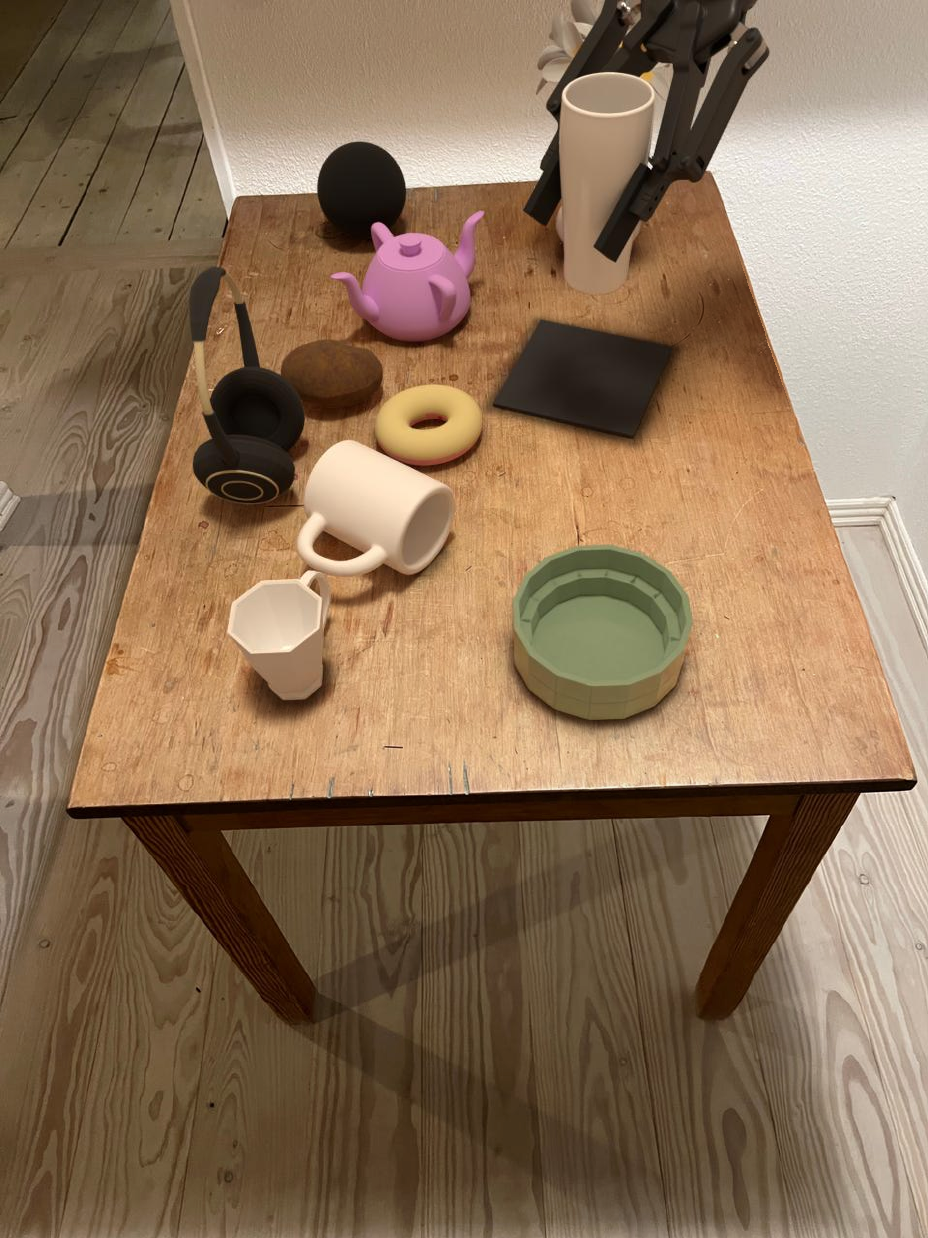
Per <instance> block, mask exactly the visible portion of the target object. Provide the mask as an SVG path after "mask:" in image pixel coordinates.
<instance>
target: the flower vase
mask: <svg viewBox="0 0 928 1238" xmlns="http://www.w3.org/2000/svg"><path fill="white" fill-rule="evenodd" d="M604 2H605V0H598V2H597V3H596V7H594V4H593V2H592V0H571V1H570V12H571V15H572V18H573V19H574V21H575V22H573V20H571V19H567V20H565V14H564V11H562V12H561V16H560V13H559V10H558V8H557V7H556V8H555V9H554V10H553V15H552V20H551V32H549V34H548V38H549V39H550V40H552V41H553V43H555V45H553V44H552V45H548V46H547V47H545V48H544V49H543V50H542V52H541V53H540V55H539V57H538V60H537V64H536V66H537V67H536V68H537V70H539V71H541V78H540V81H539V83H538V85H537V88H536V92H535V95H536V96H537V95H539V93H540V92H541V91H542V90H543V88H544V87H545V86H546V85H547V83H552V84H558V83H559V81H560V79H561V78H562V76H563V74H564V73H565V71H566V70H567V68H568V66H569V65H570V63H571V61H572V60H573V58H574V56H575V55H576V53H577V52H578V50H579V48H580V47H581V45H582V43H583V42H584V40H585V39H586V37H587V35H588V34H589V32H590V30H591V29H592V27H593V25H594V24H595V22H596V21H597V19H598V17H599V16H600V14H601V11H602V8H603V5H604ZM635 19H636V23H637V22H638V21H639V20H640V19H641V12H640V13H638V15H637V16H636V18H635ZM636 23H635V24H636ZM635 24H634V25H633V26H630V25H629V28H628V31H627V33H626V35H627V34H628V32H629V31H630V30H631V29H632V28H633V27H634V26H635ZM626 35H625V36H626ZM621 47H622V42H621V44H620V46H619V47H618V49H617V51H616V52H615V54H616V53H617V52H618V50H619V49H620V48H621ZM641 49H642V50H643V52H645V51H646V49H645V47H644V46H643V43H642V45H641ZM615 54H614V55H615ZM614 55H613V56H614ZM663 67H664V68H667V69H668V68H670V67H671V64H670V63H660V62H659V63H658V64H657V65H656V66H655V67H654V68H653V69H652V70H651V71H650V72H648V73H643V74H642V75H641V76H640V77H639V78H641V79H643V80H645V81H646V82H648V83H649V84H650V85H651V86H652V87H653V89H654V91H655V93H656V94H657V95H658V96H659V97H660V98H661V99H662V100H663V101H667V97H668V93H669V89H670V87H669V84H668V81H667V79H666V77H665V76H664V74H663V73H662V72H661V71H659V70H657V69H660V68H663ZM555 217H556V218H555V232H556V234H557V236H558V237H559V239H560V241H561V242H562V244H564V240H563V219H562V204H560V207H559V209H558V211H557V214H556V216H555ZM641 228H642V221H641V220H640V221H639V222H638V224H637V226H636V228H635V233H634V238H633V242H635V240H637V237H638V236H639V234H640V231H641Z"/></svg>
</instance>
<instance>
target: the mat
mask: <svg viewBox="0 0 928 1238" xmlns="http://www.w3.org/2000/svg"><path fill="white" fill-rule="evenodd" d="M672 350H673V345H669V344H665V343H660V342H654V341H651V340H645V339H640V338H635V337H630V336H625V335H620V334H615V333H610V332H605V331H601V330H596V329H590V328H585V327H581V326H575V325H571V324H565V323H561V322H560V323H559V322H555V321H552V320H551V321H550V320H546V319H540V320H539V322H538V323H537V325H536V327H535V329H534V331H533V332H532V334H531V336H530V337H529V339H528V341H527V342H526V344H525V346H524V348H523V349H522V351H521V353H520V354H519V357H518V358H517V360H516V362H515V363H514V365H513V367H512V369H511V370H510V372H509V374H508V376H507V377H506V379H505V381H504V382H503V384H502V386H501V388H500V390H499V391H498V393H497V394H496V396H495V399H494V400H493V402H492V407H494V408H498V409H502V410H506V411H512V412H516V413H520V414H523V415H529V416H533V417H538V418H540V419H541V418H542V419H546V420H551V421H554V422H559V423H563V424H567V425H570V426H577V427H580V428H585V429H589V430H593V431H597V432H602V433H607V434H610V435H616V436H620V437H623V438H629V439H632V440H633V439H635V435H636V433H637V432H638V429H639V428H640V427H639V426H640V424H641V422H642V419H643V417H644V415H645V413H646V410H647V408H648V406H649V403H650V401H651V399H652V397H653V394H654V392H655V390H656V388H657V385H658V383H659V381H660V378H661V377H662V373H663V371H664V369H665V368H666V367H665V366H666V364H667V362H668V359H669V358H670V355H671V352H672Z"/></svg>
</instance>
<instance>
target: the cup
mask: <svg viewBox="0 0 928 1238" xmlns="http://www.w3.org/2000/svg"><path fill="white" fill-rule="evenodd" d="M315 579H316V581H317V584H318V586H319V593H320V594H318V593H316V592H315V591H314V590H312V589H311V585H312V583H313V581H314V580H315ZM331 592H332V591H331V586H330V583H329V580H328V579H327V577H326V574H325V573H322V572H320V571H317V570H307V571H305V572H304V573H303V574H302V576H300V578H290V579H269V580H267V579H266V580H260V581H258V582H257V583H256V584H255V585H253V586H252V587H250V588H249V589H248V590H247V591H246V592H244V593H242V594H241V595H240V596H238V597H237V598H236V599H234V600H233V601H231V607H230V613H229V619H228V625H227V631H226V633H227V634H228V636H229V637H230V639H231V640H232V642H233V643H234V644H235V645H236V647H237V648H238V650H239V651H240V652H241V653H242V655H243V657H244V658H245V659H246V661H247V662H248V663H249V665H250V666H251V667H252V669H253V670H255V672H256V673H257V674H258V675H260V677H261V678H262V679H263V680H264V681H266V682H267V685H268V688H269V689H270V690H271V691H272V692H273V693H274V694H275V695H277V696H278V697H279V698H280V699H281V700H282V701H295V700H306V699H308V698H309V697H310V696H311V695H312V694H313V693H315V692H316V691H317V690H319V688H321V687H322V686H323V675H324V665H323V654H324V646H325V645H324V644H325V635H324V630H325V627H326V624H327V621H328V619H327V618H328V616H329V612H330V606H331V600H332V595H331V594H332V593H331Z"/></svg>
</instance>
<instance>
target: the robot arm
mask: <svg viewBox="0 0 928 1238" xmlns="http://www.w3.org/2000/svg"><path fill="white" fill-rule="evenodd" d="M757 2H758V0H605V2H604V5H603V8H602V11H601V14H600V16H599V17H598V19H597V21H596V22H595V24H594V25H593V27H592V29H591V30H590V32H589V34H588V35H587V37H586V39H585V40H584V42H583V43H582V45H581V47H580V48H579V50H578V52H577V53H576V55H575V56H574V58H573V60H572V61H571V63H570V65H569V66H568V68H567V70H566V71H565V73H564V74H563V76H562V78H561V79H560V81H559V83H556V85H555V88H554V89H553V91H552V92H551V94H550V96H549V98H548V99H547V101H546V103H545V108H546V111H548V112H549V114H550V115H551V116H552V117H553V119H554V120H555V121H556V123H557V129H556V132H555V133H554V136H553V137H552V139H551V141H550V143H549V145H548V146H547V149H546V150H545V153H544V154H543V157H542V159H541V160H540V163H539V164H540V165H539V169H540V170H541V171H542V172H541V175H540V176H539V179H538V180H537V182H536V185H535V187H534V188H533V190H532V192H531V194H530V195H529V197H528V199H527V202H526V203H525V205H524V207H523V209H522V211H523V212H524V214H526V215H528V216H529V217H530V218H532V220H534V221H536V223H538V224H540V225H542V226H543V227H545V228H546V227H547V226H548V225H549V222H550V220H551V219H552V217H553V215H554V213H555V211H556V209H557V207H558V206H559V203H560V202H561V201H562V199H561V181H560V161H559V130H560V113H561V102H562V93H563V90H564V88H565V87H566V86H567V85H568V84H569V83H570V82H572V81H574V80H575V79H577V78H580V77H583V76H586V75H590V74H595V73H605V72H613V73H624V74H629V75H633V76H636V77H640V76H641V75H642V74H643V73H648V72H650V71H651V70H652V69H653V68H654V67H655V66H656V65H657V64H658V63H659V62H660V63H670V65H671V64H672V77H671V81H670V86H669V93H668V97H667V101H666V102H665V106H664V110H663V114H662V118H661V122H660V127H659V131H658V134H657V138H656V143H655V147H654V151H653V155H651V156H650V155H649V156H648V164H650V166H651V168H650V167H649V165H648V166H646V165H644V164H642V163H640V164H639V166H638V167H637V169H636V171H635V172H634V174H633V176H632V177H631V179H630V181H629V183H628V185H627V186H626V188H625V190H624V192H623V194H622V195H621V197H620V199H619V201H618V203H617V204H616V206H615V208H614V210H613V212H612V213H611V215H610V217H609V219H608V221H607V222H606V224H605V226H604V228H603V230H602V231H601V233H600V235H599V237H598V239H597V240H596V242H595V244H594V246H593V247H594V248H595V249H597V250H598V251H599V252H600V253H602V254H603V255H604V256H605V257H606V258H608V259H609V260H611V261H613V262H615V263H616V261H617V260H618V258H619V256H620V254H621V252H622V251H623V249H624V247H625V245H626V244H627V242H628V240H629V238H630V237H631V235H632V233H633V231H634V230H635V228H636V226H637V224H638V222H639V221H640V220H641V222H643V223H647V222H649V221H650V219H652V217H653V215H654V214H655V212H656V210H657V208H658V207H659V205H660V203H661V202H662V200H663V198H664V196H665V195H666V193H667V191H668V189H669V188H670V186H671V185H672V184H673V183H674V182H677V181H689V182H690V183H692V184H693V183H694V184H695V183H698V182H700V181H701V180H702V179H703V177H704V175H705V174H706V171H707V169H708V167H709V165H710V163H711V160H712V158H713V156H714V154H715V152H716V151H717V148H718V147H719V144H720V142H721V139H722V138H723V135H724V134H725V131H726V129H727V127H728V125H729V123H730V120H731V118H732V116H733V114H734V113H735V110H736V108H737V106H738V104H739V102H740V100H741V98H742V96H743V93H744V91H745V89H746V87H747V85H748V83H749V81H750V80H751V78H752V77H753V76H754V75H755V74H756V72H757V71H759V70H760V68H761V67H762V65H763V64H764V63H765V62H766V61H767V60H768V58H769V57H770V53H771V52H770V48H769V46H768V44H767V42H766V41H765V39H764V37H763V35H762V33H761V31H760V30H759V28H757V27H754V26H753V27H750V28H749V27H748V26H747V25H746V19H747V15H748V12H749V11H750V10H751V9H752V8H753V7H755V6H756V5H757ZM640 12H641V19H640V20H639V21H638V22H637V23H636V19H635V18H636V16H637V15H638V13H640ZM635 23H636V24H635ZM634 24H635V26H634V27H633V28H632V29H631V30H630V31H629V32H628V34H627V35H626V33H627V31H628V28H629V25H630V26H633V25H634ZM625 35H626V36H625ZM621 42H622V47H621V48H620V49H619V50H618V52H617V53H616V54H615V52H616V51H617V49H618V47H619V46H620V44H621ZM642 43H643V46H644V47H645V49H646V51H645V52H643V50H642V49H641V45H642ZM726 48H727V52H726V54H725V55H726V56H725V57H724V58H723V60H722V62H721V63H720V66H719V67H718V70H717V72H716V74H715V77H714V79H713V81H712V83H711V84H710V87H709V89H708V92H707V94H706V96H705V98H704V100H703V102H702V104H701V107H700V108H699V110H698V113H697V115H696V117H694V116H695V113H696V109H697V105H698V100H699V97H700V92H701V89H702V88H704V87H705V85H706V81H707V77H708V73H709V70H710V65H711V61H712V58H713V57H714V56H716V55H717V54H719V53H720V52H722V51H723V50H724V49H726ZM614 54H615V55H614ZM613 55H614V56H613ZM694 118H695V119H694Z"/></svg>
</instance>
